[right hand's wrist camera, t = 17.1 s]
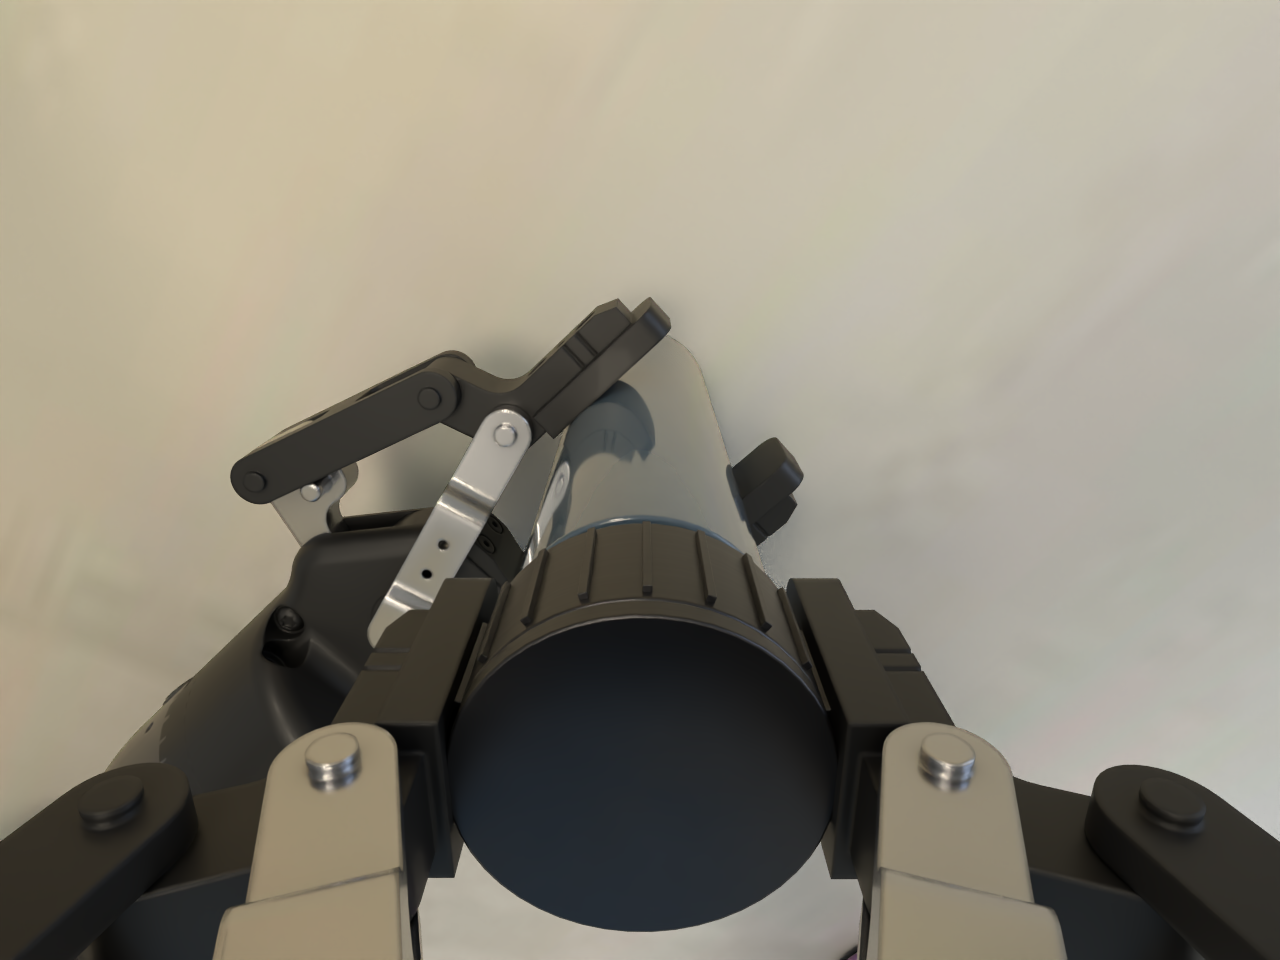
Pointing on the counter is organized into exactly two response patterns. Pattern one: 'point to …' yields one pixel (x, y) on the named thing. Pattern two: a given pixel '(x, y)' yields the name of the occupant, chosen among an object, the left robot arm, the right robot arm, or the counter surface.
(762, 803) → the lid
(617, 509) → the grey cylinder
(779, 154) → the counter surface
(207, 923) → the right robot arm
